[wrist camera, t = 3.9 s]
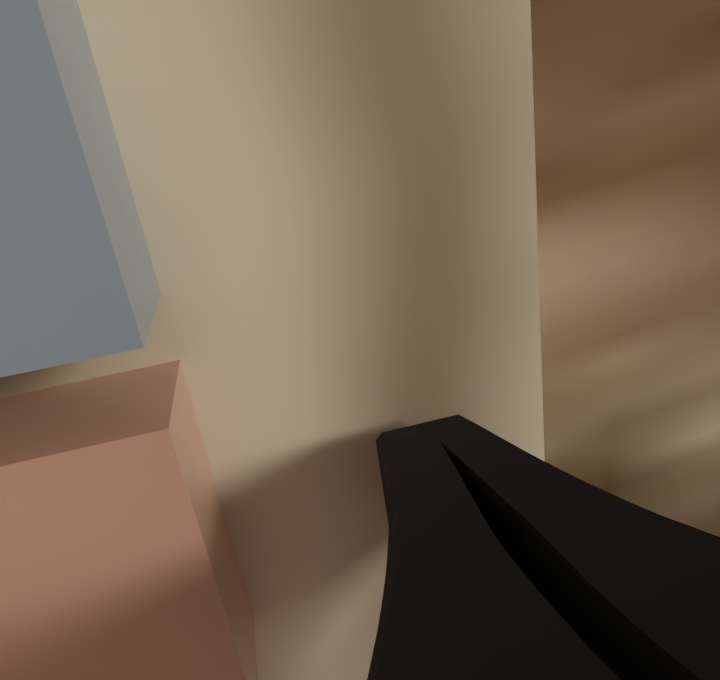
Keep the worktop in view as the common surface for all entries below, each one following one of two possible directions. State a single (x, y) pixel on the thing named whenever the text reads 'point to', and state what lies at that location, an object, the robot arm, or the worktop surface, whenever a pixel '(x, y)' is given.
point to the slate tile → (63, 201)
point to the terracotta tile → (116, 537)
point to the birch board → (326, 267)
